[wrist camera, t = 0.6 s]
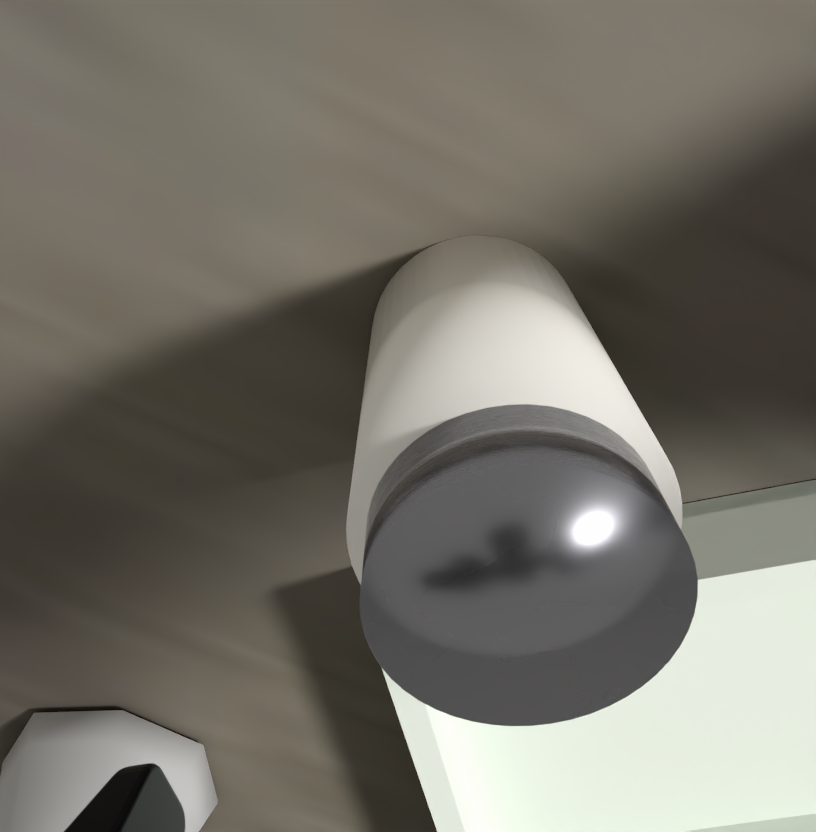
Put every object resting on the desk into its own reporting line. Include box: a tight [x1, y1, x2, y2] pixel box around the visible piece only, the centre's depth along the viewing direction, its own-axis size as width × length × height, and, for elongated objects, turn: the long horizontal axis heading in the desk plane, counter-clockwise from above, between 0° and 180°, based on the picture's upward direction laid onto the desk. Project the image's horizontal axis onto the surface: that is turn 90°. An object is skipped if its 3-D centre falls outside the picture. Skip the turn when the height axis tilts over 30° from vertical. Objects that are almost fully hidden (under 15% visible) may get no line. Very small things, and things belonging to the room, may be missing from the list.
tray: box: [382, 480, 816, 832], centre depth 23 cm, size 16×14×3 cm
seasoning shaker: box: [346, 235, 698, 726], centre depth 14 cm, size 5×5×10 cm
